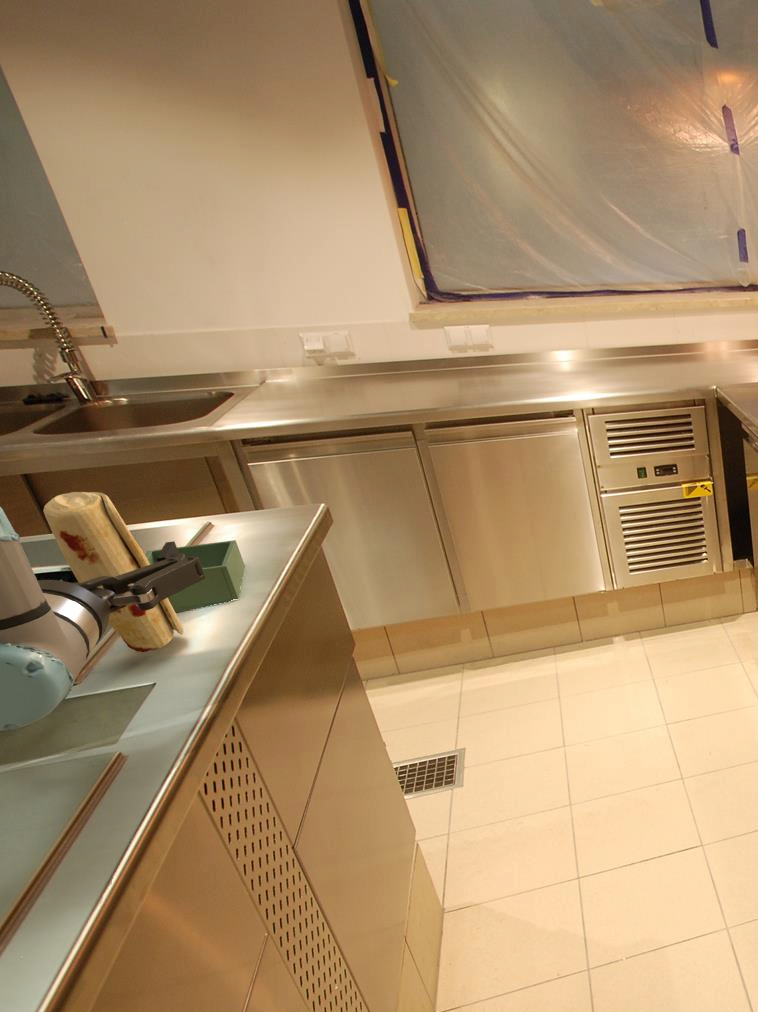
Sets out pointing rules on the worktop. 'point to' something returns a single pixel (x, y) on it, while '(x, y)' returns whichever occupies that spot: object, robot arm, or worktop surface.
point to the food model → (108, 562)
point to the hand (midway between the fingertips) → (96, 562)
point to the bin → (209, 575)
